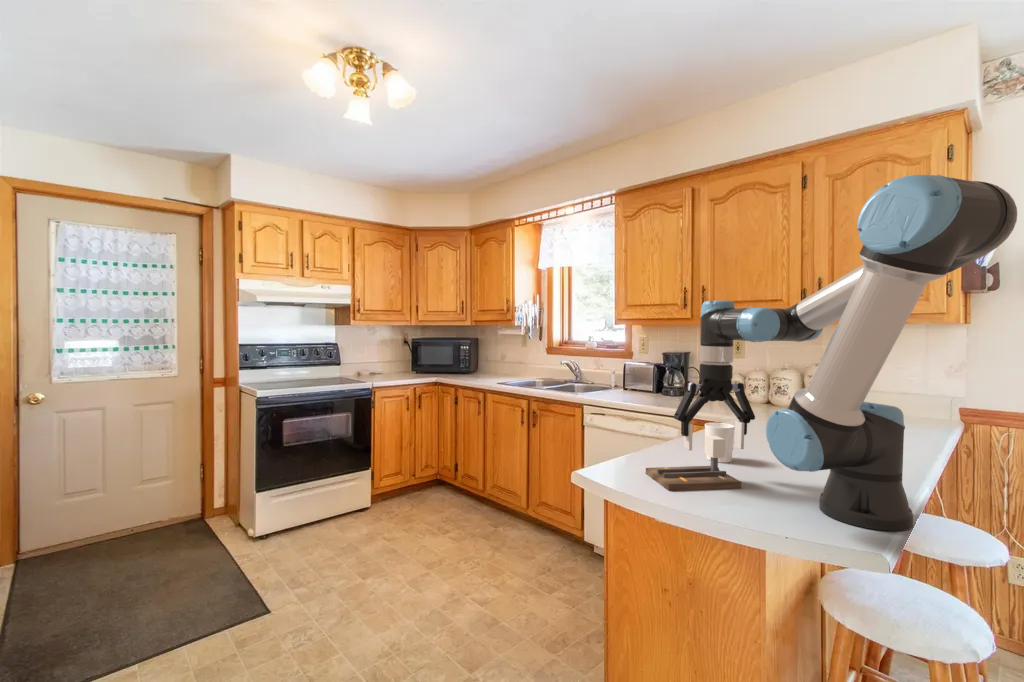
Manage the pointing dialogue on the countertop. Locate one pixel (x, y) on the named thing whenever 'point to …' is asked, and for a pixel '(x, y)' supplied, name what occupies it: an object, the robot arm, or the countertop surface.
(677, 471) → the board
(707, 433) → the white cup
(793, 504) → the countertop surface
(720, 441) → the block
